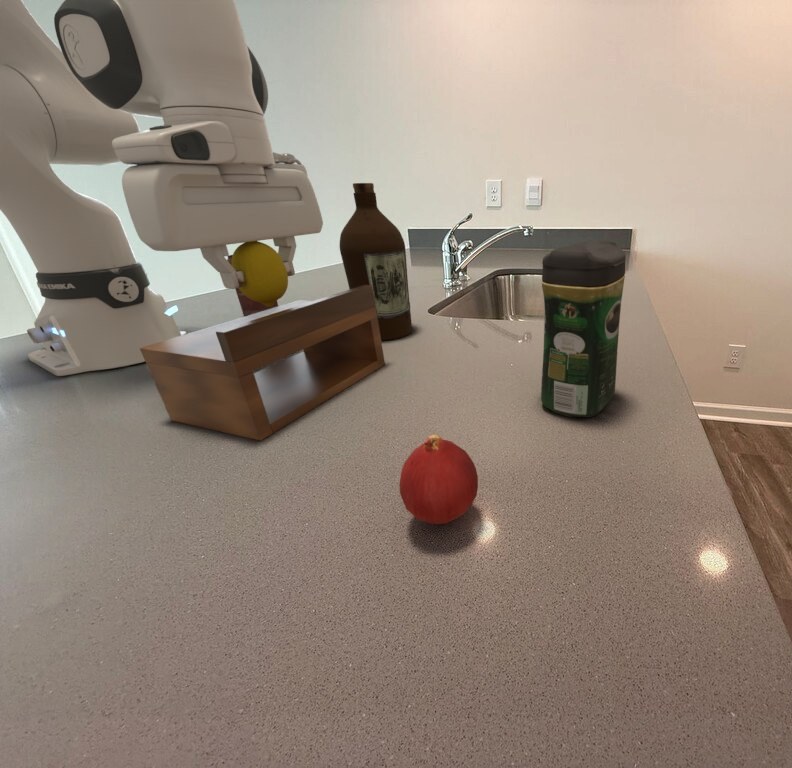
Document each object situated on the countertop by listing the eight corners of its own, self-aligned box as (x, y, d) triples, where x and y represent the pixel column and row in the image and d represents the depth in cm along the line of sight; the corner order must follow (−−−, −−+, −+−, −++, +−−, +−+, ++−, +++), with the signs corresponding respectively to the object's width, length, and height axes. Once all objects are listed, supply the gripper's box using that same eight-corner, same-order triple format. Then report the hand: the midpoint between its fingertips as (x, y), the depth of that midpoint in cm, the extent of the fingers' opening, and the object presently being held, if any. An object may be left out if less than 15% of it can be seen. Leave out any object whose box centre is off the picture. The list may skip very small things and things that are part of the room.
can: (269, 333, 77) (247, 256, 71) (241, 332, 78) (216, 256, 72) (291, 324, 82) (272, 251, 76) (264, 322, 83) (243, 251, 77)
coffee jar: (564, 379, 55) (569, 235, 47) (621, 392, 52) (637, 238, 44) (529, 410, 48) (529, 245, 40) (593, 427, 44) (607, 249, 36)
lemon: (259, 315, 46) (238, 241, 43) (234, 309, 49) (212, 239, 46) (304, 304, 50) (287, 236, 47) (279, 299, 53) (261, 235, 50)
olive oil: (346, 333, 76) (316, 184, 65) (397, 321, 82) (377, 184, 72) (373, 346, 69) (344, 182, 58) (426, 332, 75) (409, 182, 65)
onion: (412, 497, 35) (399, 416, 31) (479, 492, 35) (474, 411, 32) (401, 552, 29) (383, 461, 26) (481, 545, 30) (474, 455, 26)
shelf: (171, 420, 47) (127, 320, 42) (312, 354, 66) (294, 280, 61) (260, 441, 43) (224, 332, 38) (385, 364, 62) (372, 284, 56)
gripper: (282, 156, 52) (307, 266, 58) (88, 140, 35) (153, 299, 41) (321, 153, 50) (343, 267, 56) (136, 135, 33) (196, 303, 39)
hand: (262, 281), depth 48 cm, fingers closed on lemon, 5 cm apart
